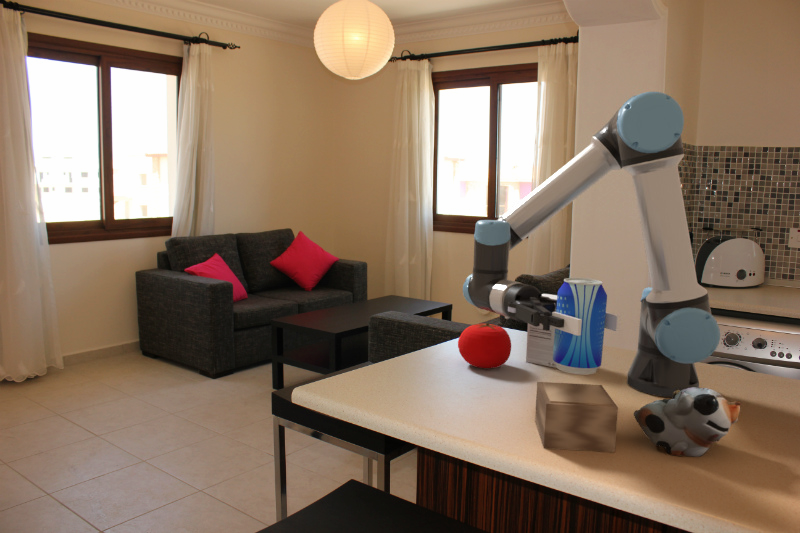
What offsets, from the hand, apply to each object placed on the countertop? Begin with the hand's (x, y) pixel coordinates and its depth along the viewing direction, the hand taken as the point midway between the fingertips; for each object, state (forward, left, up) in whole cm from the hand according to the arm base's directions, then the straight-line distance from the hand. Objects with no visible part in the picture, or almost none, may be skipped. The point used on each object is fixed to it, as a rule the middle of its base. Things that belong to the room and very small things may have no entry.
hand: (599, 325), depth 106 cm
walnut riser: (+2, -4, -22) cm, 22 cm away
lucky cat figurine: (-17, -3, -22) cm, 28 cm away
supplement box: (-1, -53, -22) cm, 57 cm away
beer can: (+3, -4, -9) cm, 10 cm away
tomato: (+16, -46, -22) cm, 54 cm away
